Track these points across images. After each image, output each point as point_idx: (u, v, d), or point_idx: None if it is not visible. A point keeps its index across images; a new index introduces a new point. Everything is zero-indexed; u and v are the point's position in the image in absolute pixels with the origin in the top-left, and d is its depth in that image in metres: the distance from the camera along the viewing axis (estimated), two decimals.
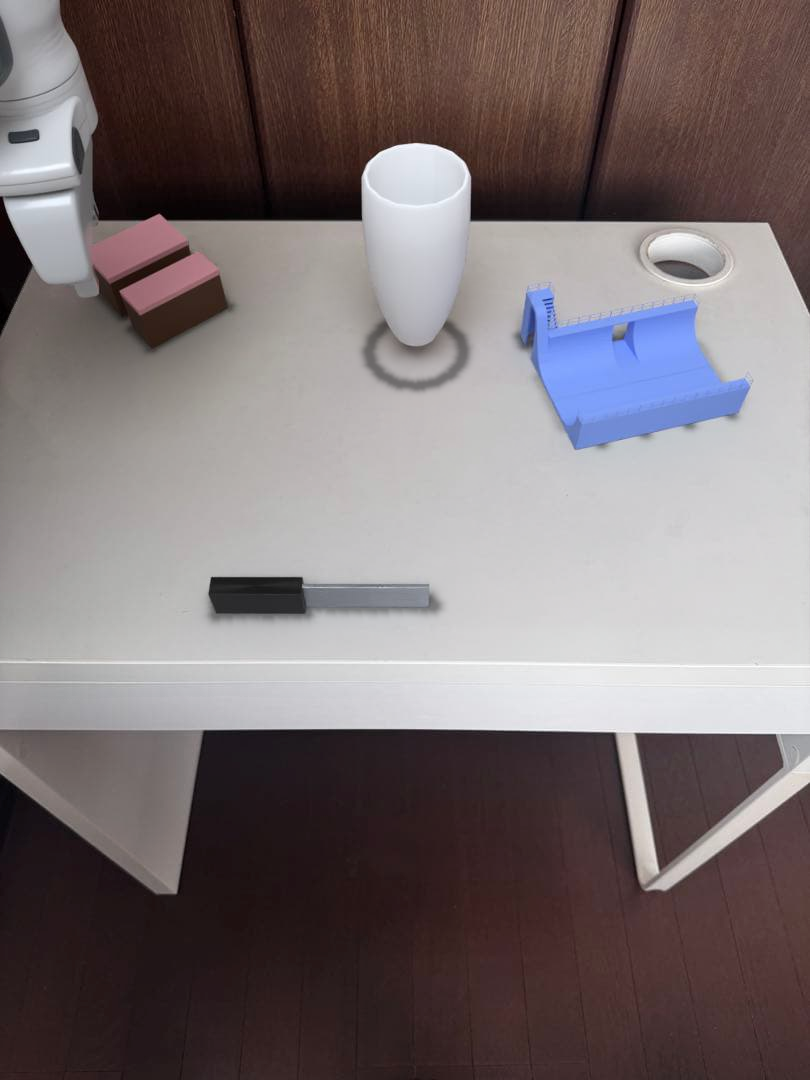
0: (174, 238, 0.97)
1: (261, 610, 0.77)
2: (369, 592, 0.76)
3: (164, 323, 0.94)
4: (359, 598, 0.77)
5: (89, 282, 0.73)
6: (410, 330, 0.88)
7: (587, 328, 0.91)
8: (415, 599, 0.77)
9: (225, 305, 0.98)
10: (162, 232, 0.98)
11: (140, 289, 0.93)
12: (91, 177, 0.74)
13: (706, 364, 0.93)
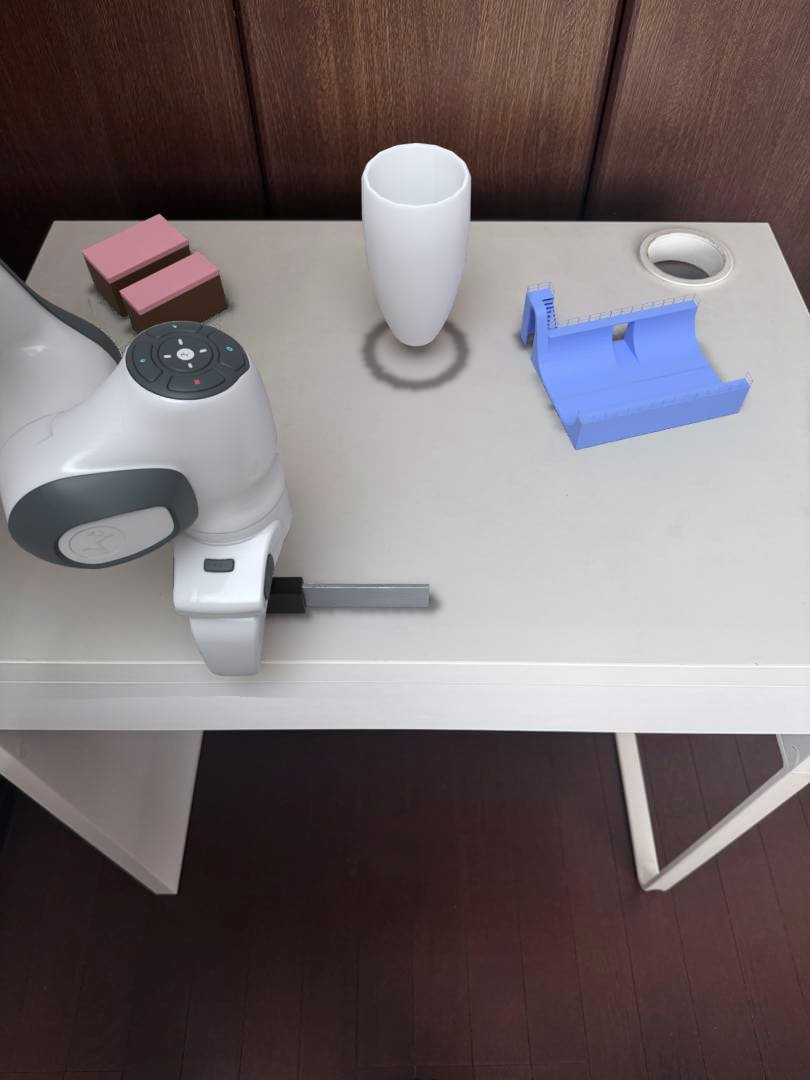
0: (174, 238, 0.97)
1: None
2: (369, 592, 0.76)
3: None
4: (359, 598, 0.77)
5: None
6: (410, 330, 0.88)
7: (587, 328, 0.91)
8: (415, 599, 0.77)
9: (225, 305, 0.98)
10: (162, 232, 0.98)
11: (140, 289, 0.93)
12: None
13: (706, 364, 0.93)
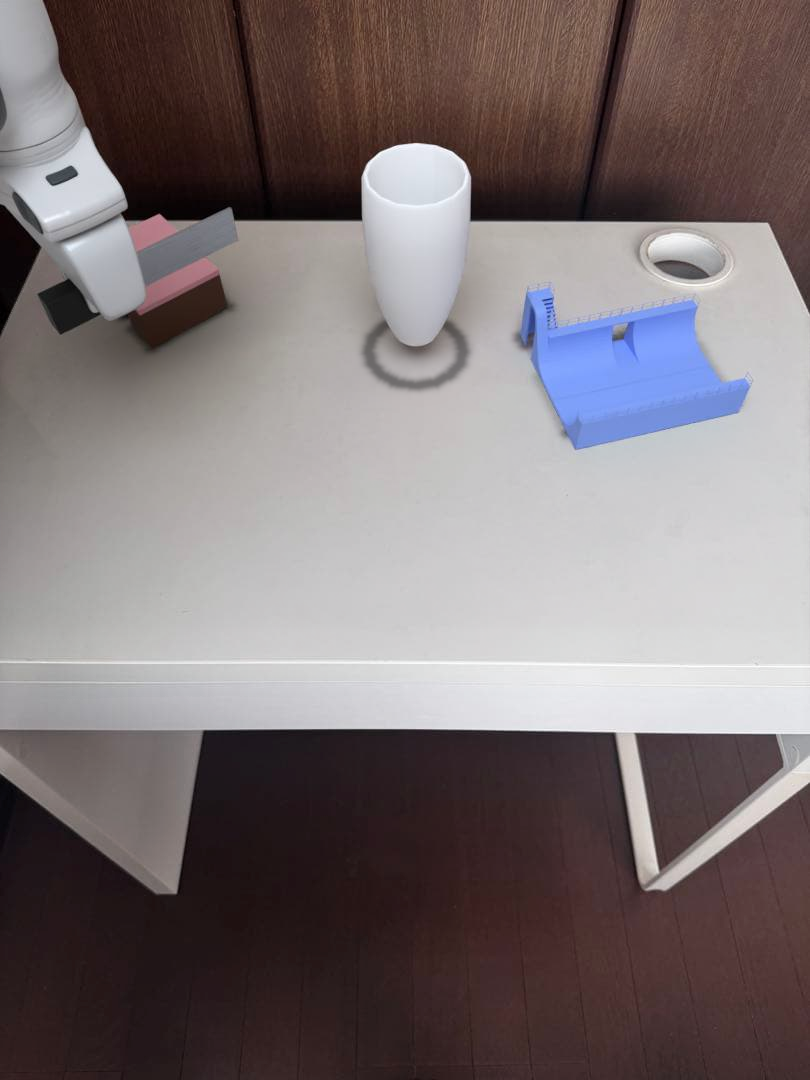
0: None
1: None
2: (185, 240, 0.79)
3: (164, 323, 0.94)
4: (179, 253, 0.79)
5: None
6: (410, 330, 0.88)
7: (587, 327, 0.91)
8: (225, 232, 0.81)
9: (225, 305, 0.98)
10: (162, 232, 0.98)
11: None
12: None
13: (706, 364, 0.93)
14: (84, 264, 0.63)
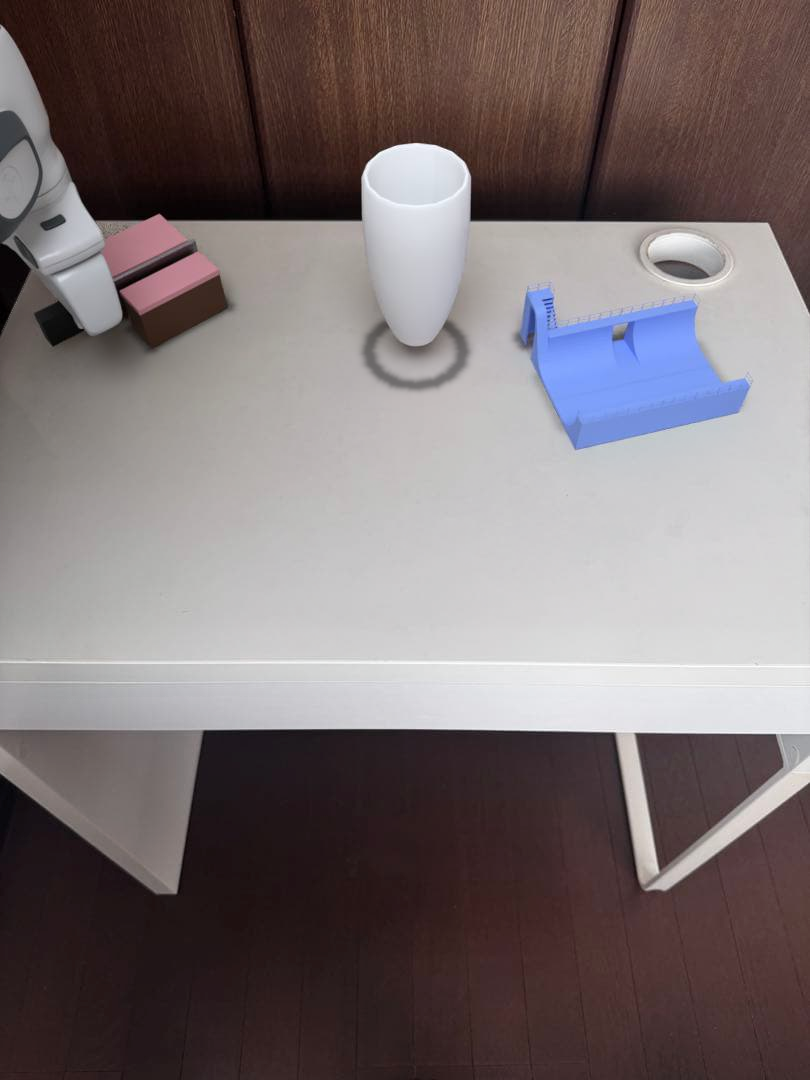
0: (174, 238, 0.97)
1: None
2: (156, 267, 0.95)
3: (164, 323, 0.94)
4: None
5: None
6: (410, 330, 0.88)
7: (587, 327, 0.91)
8: None
9: (225, 305, 0.98)
10: (162, 232, 0.98)
11: (140, 289, 0.93)
12: None
13: (706, 364, 0.93)
14: (71, 292, 0.79)
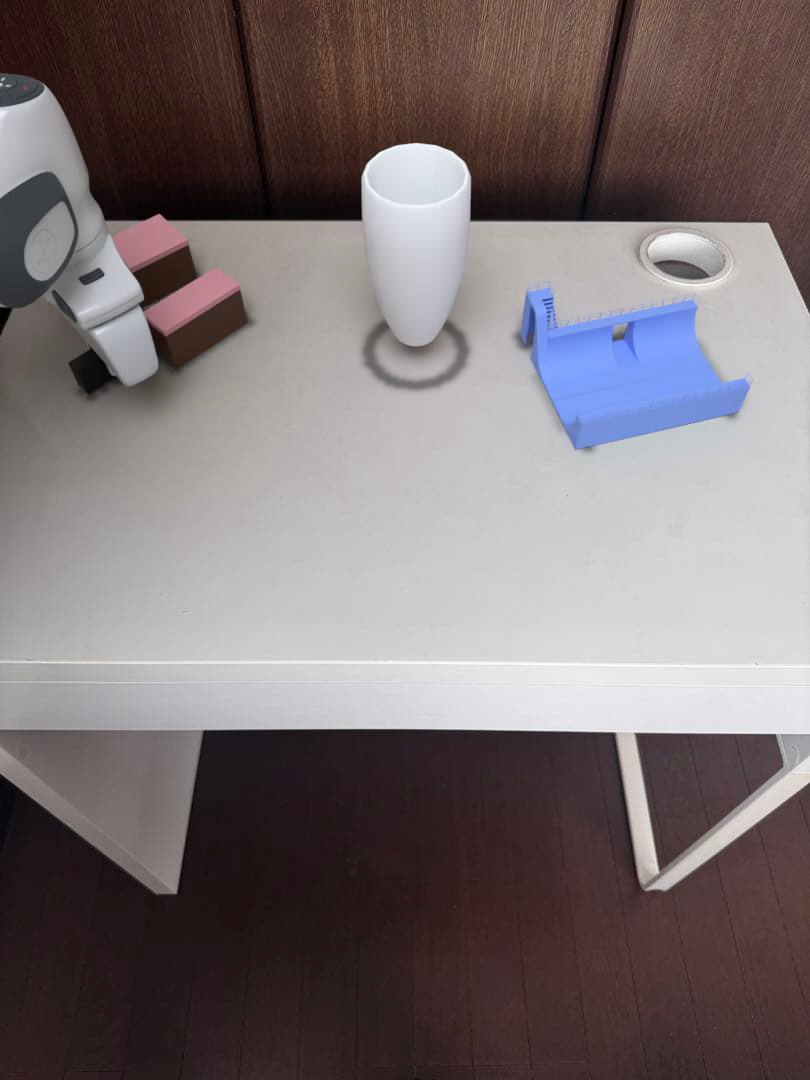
0: (174, 238, 0.97)
1: None
2: None
3: (188, 342, 0.93)
4: None
5: None
6: (410, 330, 0.88)
7: (587, 327, 0.91)
8: None
9: (245, 320, 0.97)
10: (162, 232, 0.98)
11: (162, 310, 0.91)
12: None
13: (706, 363, 0.93)
14: (109, 345, 0.78)
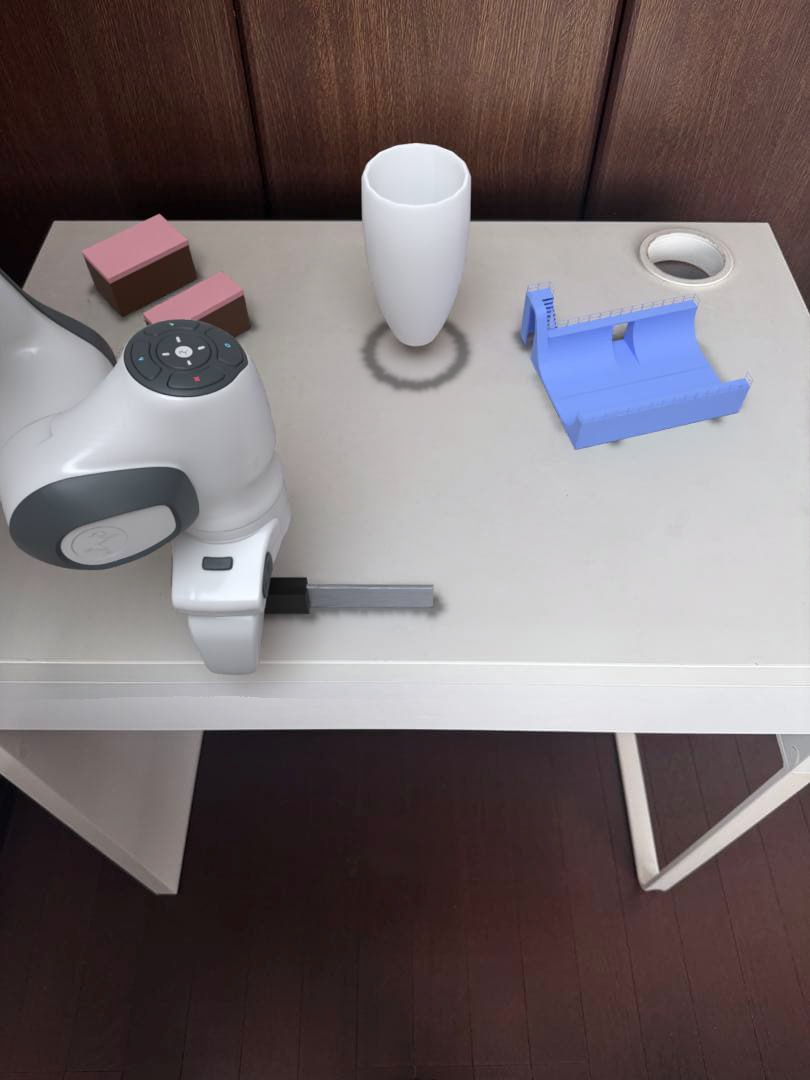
0: (174, 238, 0.97)
1: (265, 610, 0.77)
2: (373, 593, 0.76)
3: None
4: (363, 598, 0.77)
5: None
6: (410, 330, 0.88)
7: (587, 327, 0.91)
8: (419, 599, 0.77)
9: (248, 325, 0.97)
10: (162, 232, 0.98)
11: (164, 311, 0.91)
12: None
13: (705, 363, 0.93)
14: (198, 638, 0.63)
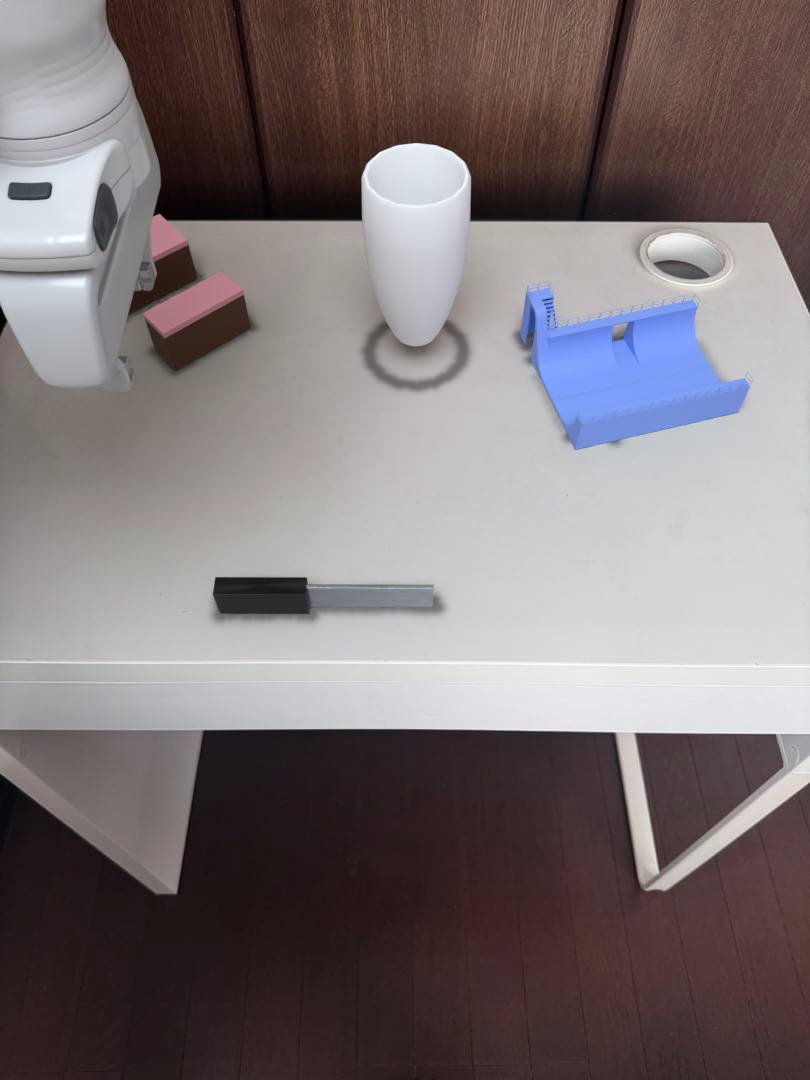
0: (174, 238, 0.97)
1: (265, 610, 0.77)
2: (373, 593, 0.76)
3: (188, 345, 0.93)
4: (363, 598, 0.77)
5: (117, 375, 0.55)
6: (410, 330, 0.88)
7: (587, 327, 0.91)
8: (419, 599, 0.77)
9: (248, 325, 0.97)
10: (162, 232, 0.98)
11: (164, 311, 0.91)
12: (145, 234, 0.56)
13: (705, 363, 0.93)
14: (11, 311, 0.45)
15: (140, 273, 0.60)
